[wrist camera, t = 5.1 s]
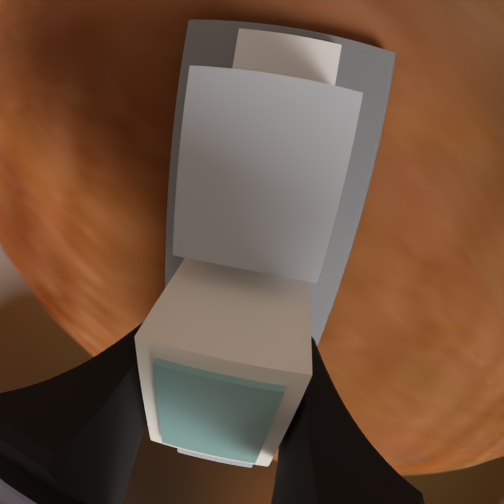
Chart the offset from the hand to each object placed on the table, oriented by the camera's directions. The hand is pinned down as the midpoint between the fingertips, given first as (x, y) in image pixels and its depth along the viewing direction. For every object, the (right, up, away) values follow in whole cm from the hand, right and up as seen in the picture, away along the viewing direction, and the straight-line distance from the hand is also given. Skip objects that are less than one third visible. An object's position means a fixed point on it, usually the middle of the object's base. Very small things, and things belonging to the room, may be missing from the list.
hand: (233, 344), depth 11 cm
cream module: (0, +1, +1) cm, 2 cm away
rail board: (+1, +3, +4) cm, 5 cm away
